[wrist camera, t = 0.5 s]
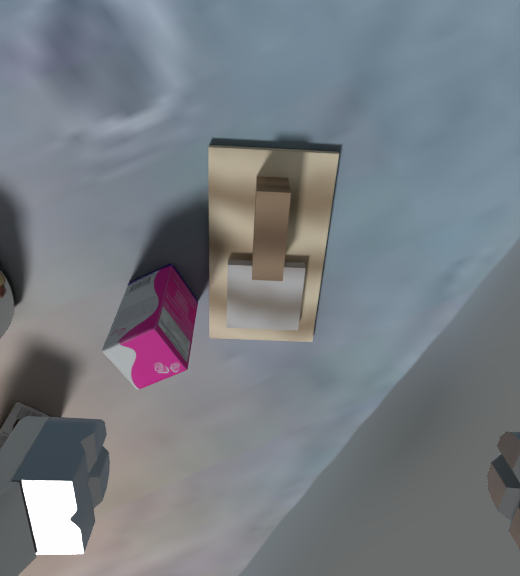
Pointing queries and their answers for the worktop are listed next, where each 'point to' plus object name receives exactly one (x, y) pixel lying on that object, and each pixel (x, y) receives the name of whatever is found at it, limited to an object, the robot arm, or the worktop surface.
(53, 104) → the worktop surface
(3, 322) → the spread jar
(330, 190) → the board
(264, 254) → the paddle
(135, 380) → the supplement box
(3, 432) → the coffee box
